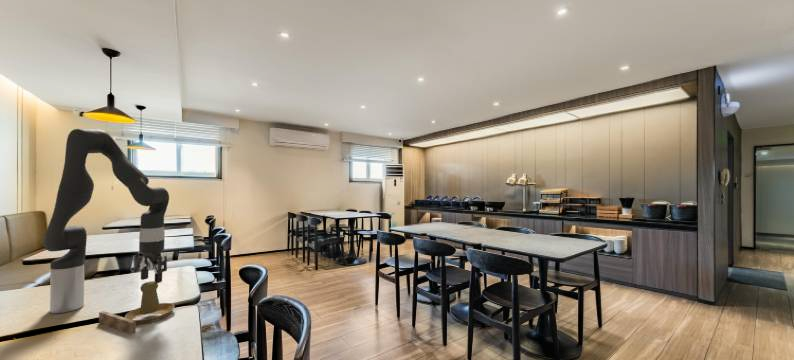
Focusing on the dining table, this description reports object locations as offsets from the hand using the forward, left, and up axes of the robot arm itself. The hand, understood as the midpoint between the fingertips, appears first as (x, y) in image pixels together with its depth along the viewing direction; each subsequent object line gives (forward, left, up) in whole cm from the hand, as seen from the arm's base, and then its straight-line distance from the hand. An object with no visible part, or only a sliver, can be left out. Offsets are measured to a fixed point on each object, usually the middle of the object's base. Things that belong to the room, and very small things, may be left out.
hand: (151, 280), depth 115 cm
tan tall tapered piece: (0, 0, -12) cm, 12 cm away
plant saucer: (0, 0, -14) cm, 14 cm away
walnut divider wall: (-1, -10, -14) cm, 17 cm away
